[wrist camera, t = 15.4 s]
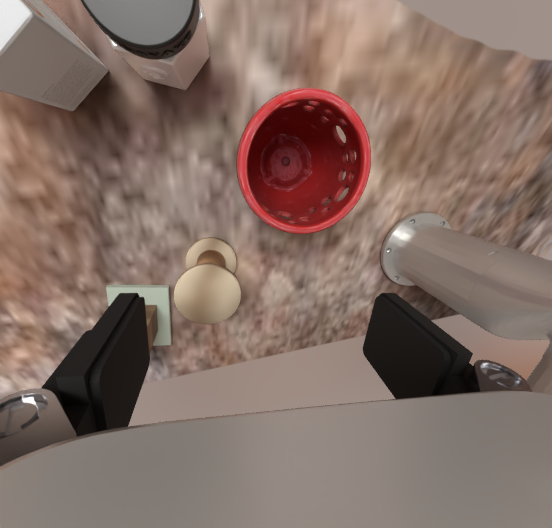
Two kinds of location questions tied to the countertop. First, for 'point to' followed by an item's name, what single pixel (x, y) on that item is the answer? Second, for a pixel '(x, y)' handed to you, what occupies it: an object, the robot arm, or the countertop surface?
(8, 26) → the small box
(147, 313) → the block
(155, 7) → the jar
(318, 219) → the plant pot
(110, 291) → the board
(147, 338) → the robot arm
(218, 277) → the cream drawer knob
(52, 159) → the countertop surface
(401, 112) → the countertop surface
